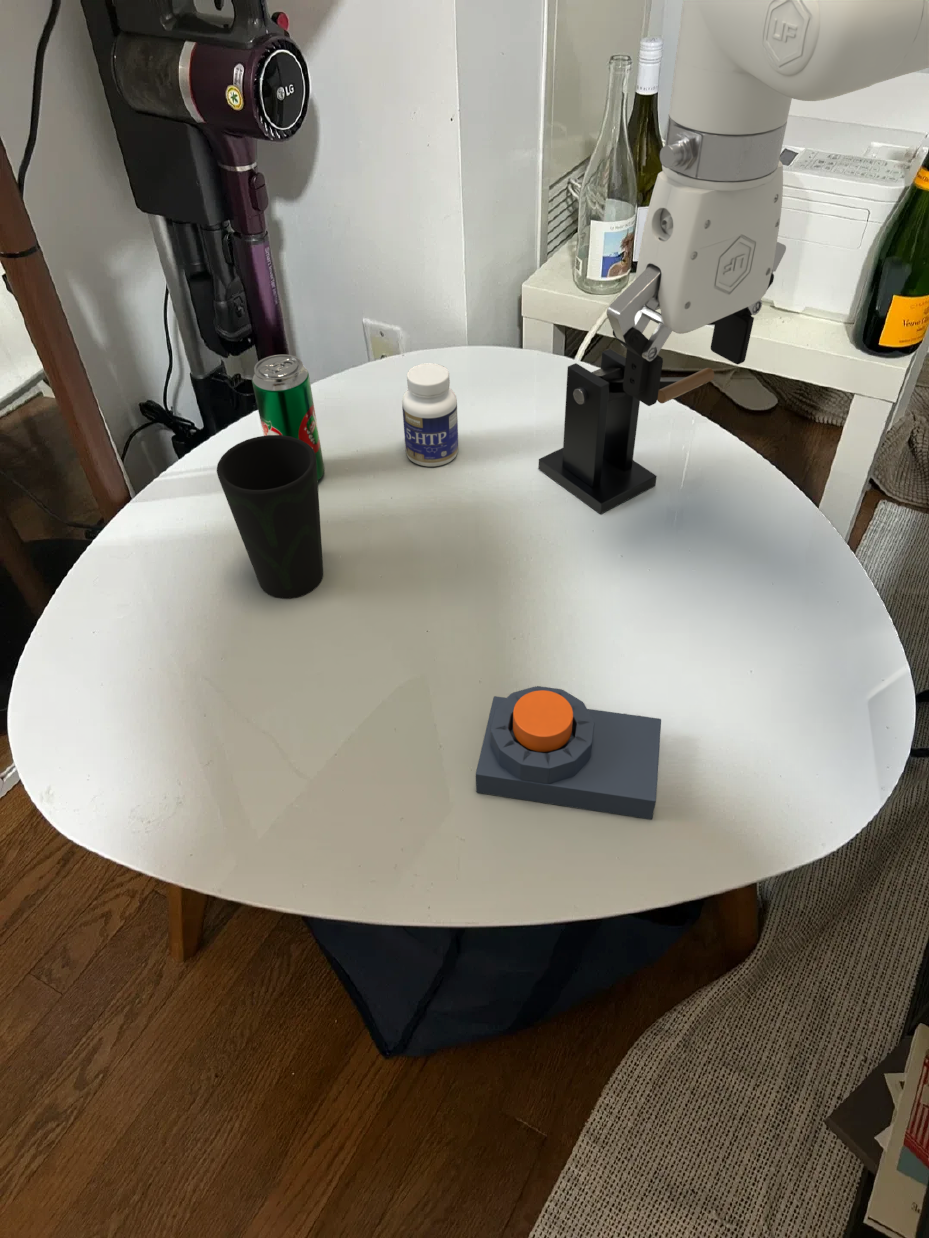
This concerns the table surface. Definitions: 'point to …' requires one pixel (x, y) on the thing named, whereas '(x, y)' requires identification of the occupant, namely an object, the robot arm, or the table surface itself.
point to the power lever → (667, 387)
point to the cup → (276, 511)
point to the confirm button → (542, 721)
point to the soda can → (287, 401)
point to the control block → (574, 760)
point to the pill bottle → (430, 416)
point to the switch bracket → (598, 441)
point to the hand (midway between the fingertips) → (684, 376)
